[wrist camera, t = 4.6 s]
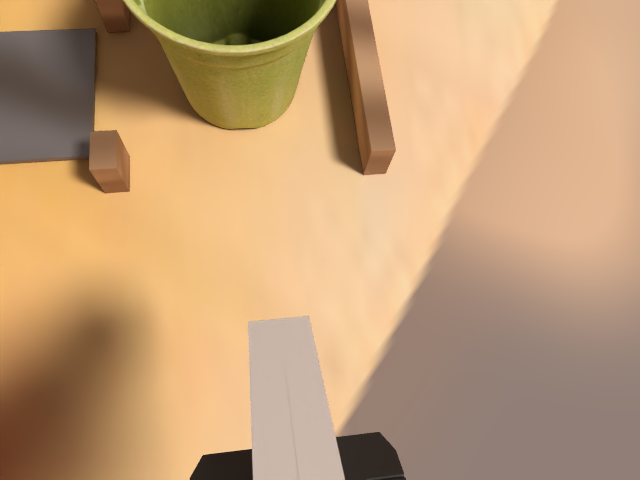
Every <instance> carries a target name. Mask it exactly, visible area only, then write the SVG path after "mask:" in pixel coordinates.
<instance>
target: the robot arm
mask: <svg viewBox="0 0 640 480" xmlns="http://www.w3.org/2000/svg"><path fill="white" fill-rule="evenodd" d="M248 333H249V365H250V398H251V430H252V449H248V450H240V451H232V452H224V453H216V454H208V455H203V456H202V458H201V459H200V461H199V463H198V465H197V466H196V468H195V470H194V472H193V474H192V475H191V477H190V480H406V478H405V477H404V472H403V470H402V466H401V464H400V461H399V458H398V455H397V452H396V450H395V449H394V448H393V447H392V446H391V444H390V443H389V442H388V441H387V440H386V439H385V438H384V437H383V436H382V434H381V433H380V432H375V433H367V434H359V435H351V436H342V437H336V436H335V432H334V427H333V423H332V418H331V414H330V409H329V404H328V400H327V395H326V391H325V386H324V382H323V377H322V373H321V368H320V364H319V359H318V354H317V350H316V345H315V341H314V336H313V332H312V327H311V323H310V318H309V316H303V317H292V318H282V319H271V320H261V321H250V322H248Z"/></svg>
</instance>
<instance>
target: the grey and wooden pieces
mask: <svg viewBox="0 0 640 480" xmlns="http://www.w3.org/2000/svg"><path fill="white" fill-rule="evenodd" d="M95 2H96V4H97V7H98V9H99V12H100V14H101V17H102V19H103V22H104V24H105V27H106V29H107V32H121V31H130V10H129V9H128V7H127V6H126V4H125V3H124V2H123V0H95ZM335 3H336V9H337V15H338V21H339V27H340V33H341V39H342V46H343V52H344V58H345V64H346V70H347V76H348V82H349V89H350V95H351V101H352V107H353V113H354V119H355V125H356V132H357V138H358V144H359V150H360V156H361V162H362V168H363V175H370V174H384V173H386V171H387V169H388V167H389V164H390V162H391V160H392V157H393V155H394V153H395V150H396V148H395V143H394V138H393V133H392V127H391V122H390V117H389V111H388V106H387V101H386V95H385V90H384V85H383V79H382V74H381V69H380V64H379V58H378V53H377V48H376V42H375V37H374V32H373V26H372V21H371V16H370V10H369V5H368V0H336V2H335ZM96 35H97V32H96V30H95V29H69V30H40V31H12V32H0V164H14V163H30V162H46V161H61V160H77V159H89V170H90V172H91V173H92V175H93V176H94V178H95V179H96V181H97V182H98V184H99V185H100V187H101V188H102V189H103V191H104V192H105V193H113V192H128V191H130V156H129V154H128V152H127V150H126V148H125V146H124V144H123V142H122V140H121V138H120V136H119V134H118V132H117V130H112V131H94V114H95V74H96Z"/></svg>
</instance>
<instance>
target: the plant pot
mask: <svg viewBox="0 0 640 480" xmlns="http://www.w3.org/2000/svg"><path fill="white" fill-rule="evenodd" d="M123 2H124V3H125V4H126V6H127V7H128V9H129V10H130V11H131V13H132V14H133V15H134V16H135V17H136V18H137V19H138V20H139V21H140V22H141V23H142V24H143V25H145V26H146V27H147V28H148V29H150V31H151V32H152V33H153V34H154V35H155V36H156V37H157V38H158V40H159V42H160V44H161V46H162V48H163V50H164V52H165V55H166V57H167V59H168V61H169V63H170V65H171V67H172V69H173V71H174V73H175V75H176V77H177V79H178V81H179V83H180V85H181V87H182V89H183V91H184V93H185V95H186V97H187V99H188V101H189V103H190V105H191V106H192V108H193V109H194V110H195V111H196V112H197V113H198V114H199V115H200V116H201V117H202V118H204V119H205V120H206V121H208V122H210V123H212V124H214V125H216V126H218V127H222V128H226V129H235V128H260V127H262V126H265V125H267V124H269V123H271V122H273V121H275V120H276V119H277V118H279V117H280V116H281V115H282V114H283V113H284V112H285V111H286V110H287V108H288V107H289V105H290V103H291V102H292V99H293V97H294V94H295V91H296V88H297V85H298V81H299V78H300V74H301V71H302V67H303V64H304V61H305V58H306V55H307V52H308V49H309V45H310V42H311V39H312V36H313V33H314V31H315V30H316V29H317V27H318V26H319V24H320V23H321V22H322V21H323V20H324V19H325V18H326V16H327V15H328V14H329V12H330V11H331V9H332V8H333V6H334V4H335V2H336V0H123Z"/></svg>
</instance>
